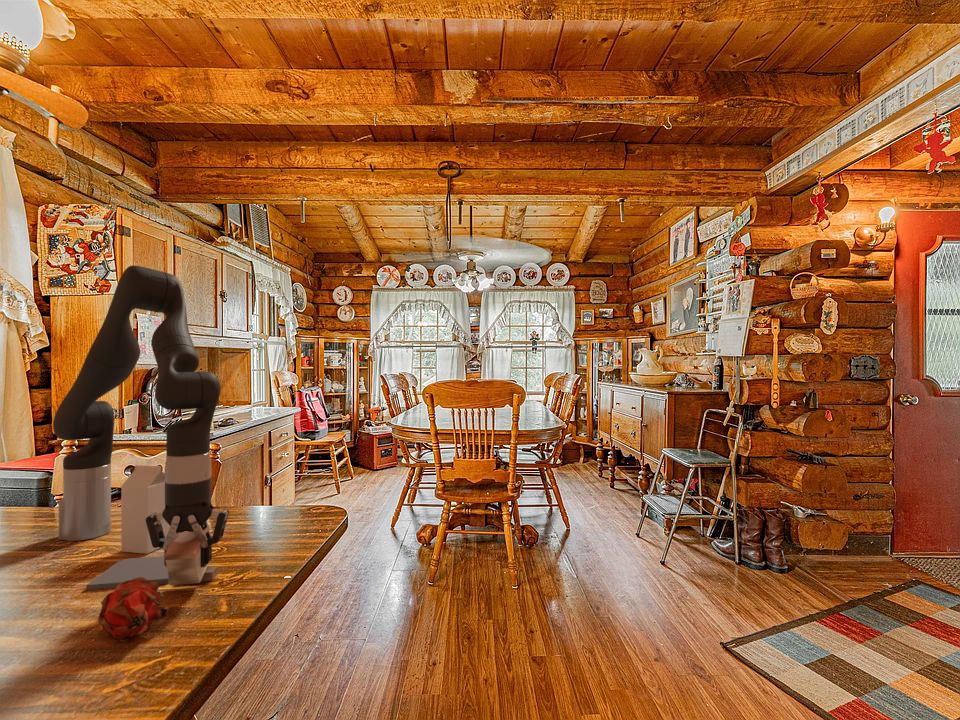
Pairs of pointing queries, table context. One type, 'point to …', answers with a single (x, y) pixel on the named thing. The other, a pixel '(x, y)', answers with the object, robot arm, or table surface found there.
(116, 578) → the charcoal mat
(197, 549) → the pinkish tan block
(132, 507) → the milk carton
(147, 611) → the dragon fruit
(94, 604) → the table surface
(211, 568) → the block
